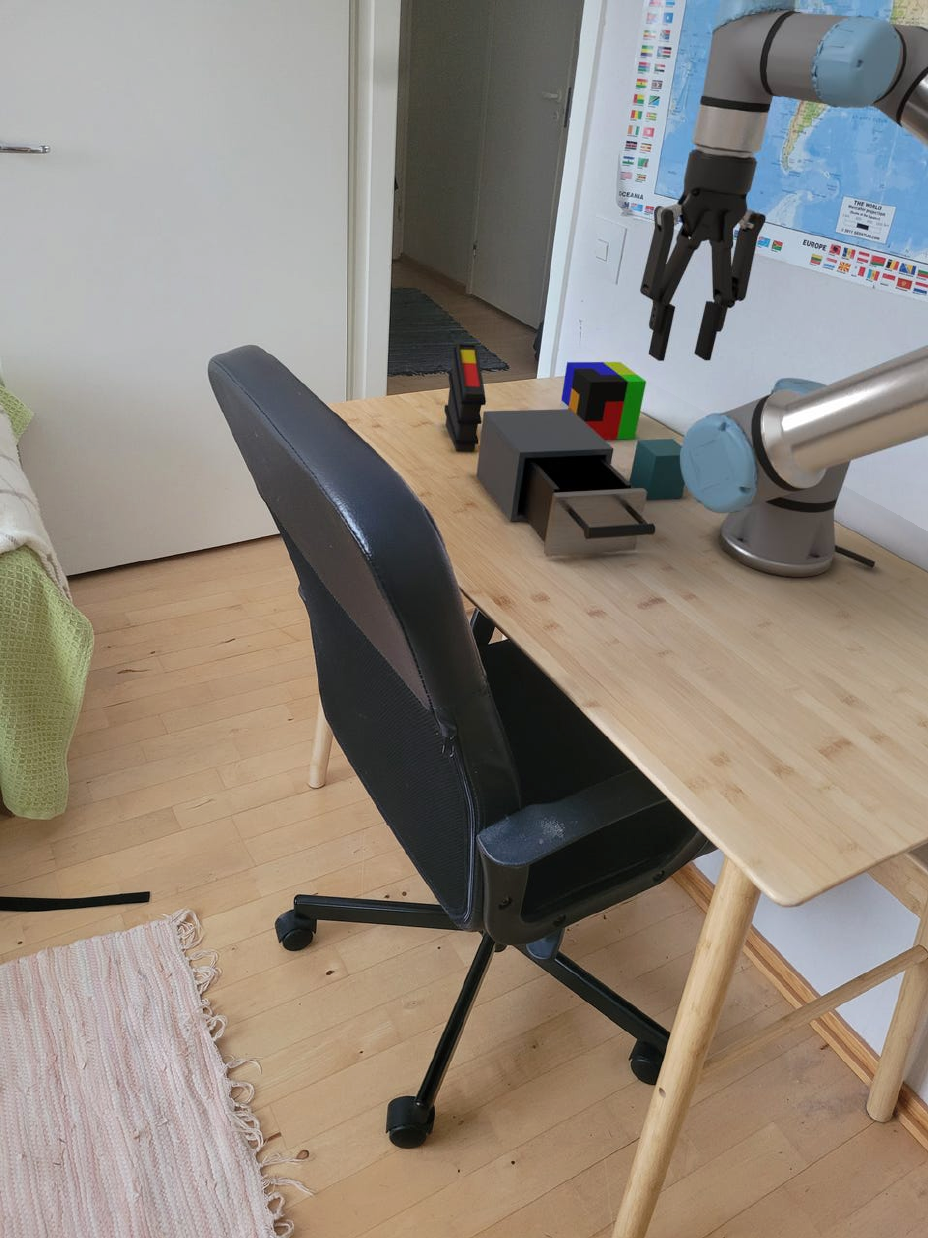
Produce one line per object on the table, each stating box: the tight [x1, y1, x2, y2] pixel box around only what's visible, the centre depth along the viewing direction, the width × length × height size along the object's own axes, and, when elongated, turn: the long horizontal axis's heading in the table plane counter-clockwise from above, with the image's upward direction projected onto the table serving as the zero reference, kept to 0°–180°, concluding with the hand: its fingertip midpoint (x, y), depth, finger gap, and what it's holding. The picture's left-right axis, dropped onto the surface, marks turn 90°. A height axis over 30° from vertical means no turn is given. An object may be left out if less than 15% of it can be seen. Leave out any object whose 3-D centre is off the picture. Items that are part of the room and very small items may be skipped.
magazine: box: [443, 342, 487, 453], centre depth 151 cm, size 4×13×15 cm, turn 10°
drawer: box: [518, 455, 657, 557], centre depth 124 cm, size 20×13×8 cm, turn 18°
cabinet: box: [476, 409, 614, 523], centre depth 136 cm, size 15×14×10 cm
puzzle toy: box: [559, 361, 647, 441], centre depth 162 cm, size 10×10×10 cm
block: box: [628, 438, 686, 501], centre depth 143 cm, size 6×6×7 cm
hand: (679, 356), depth 118 cm, fingers open, 6 cm apart
